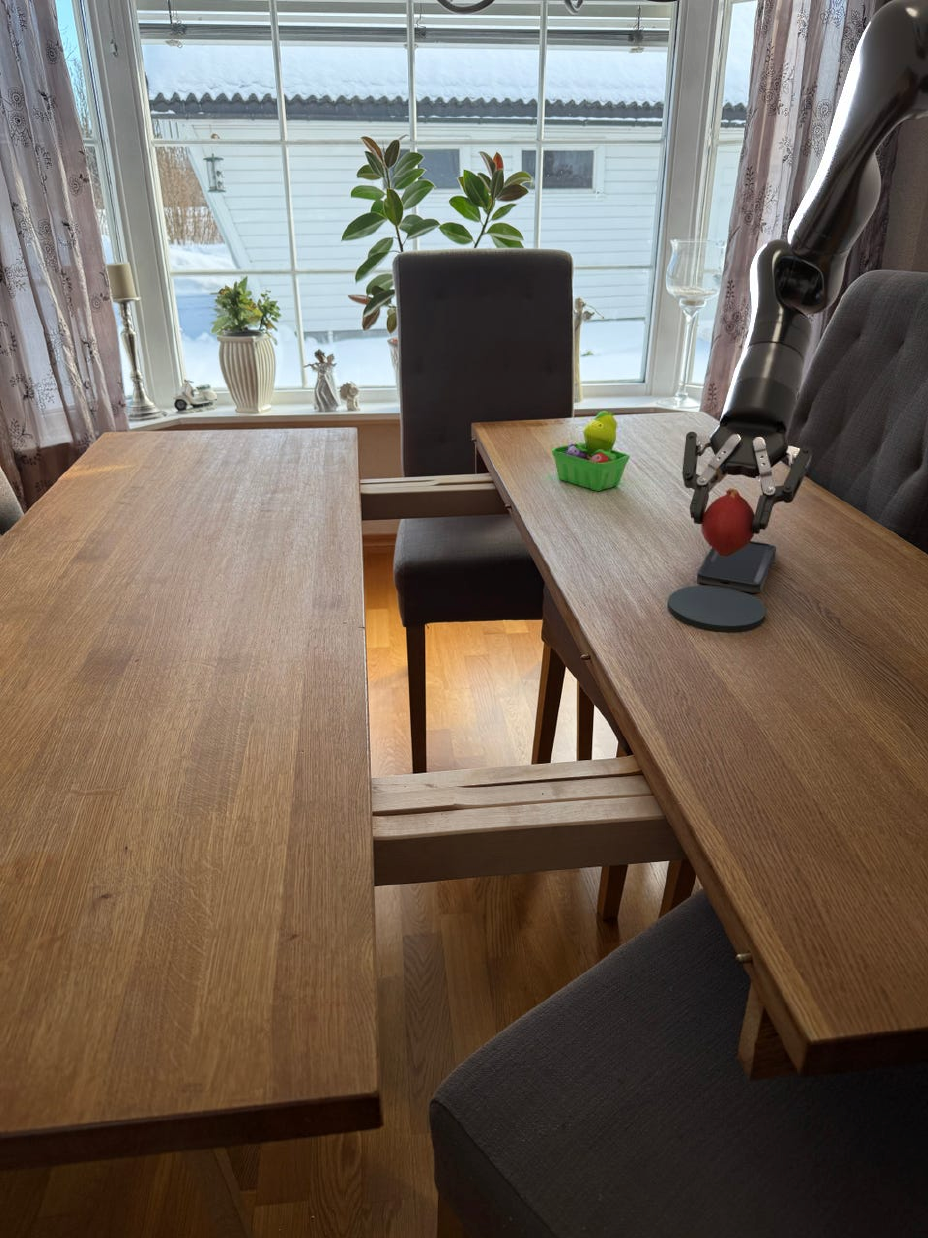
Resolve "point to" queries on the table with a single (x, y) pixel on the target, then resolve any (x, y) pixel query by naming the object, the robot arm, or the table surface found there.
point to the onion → (728, 523)
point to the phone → (738, 568)
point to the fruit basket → (593, 456)
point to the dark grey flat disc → (716, 608)
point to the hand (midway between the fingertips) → (726, 525)
